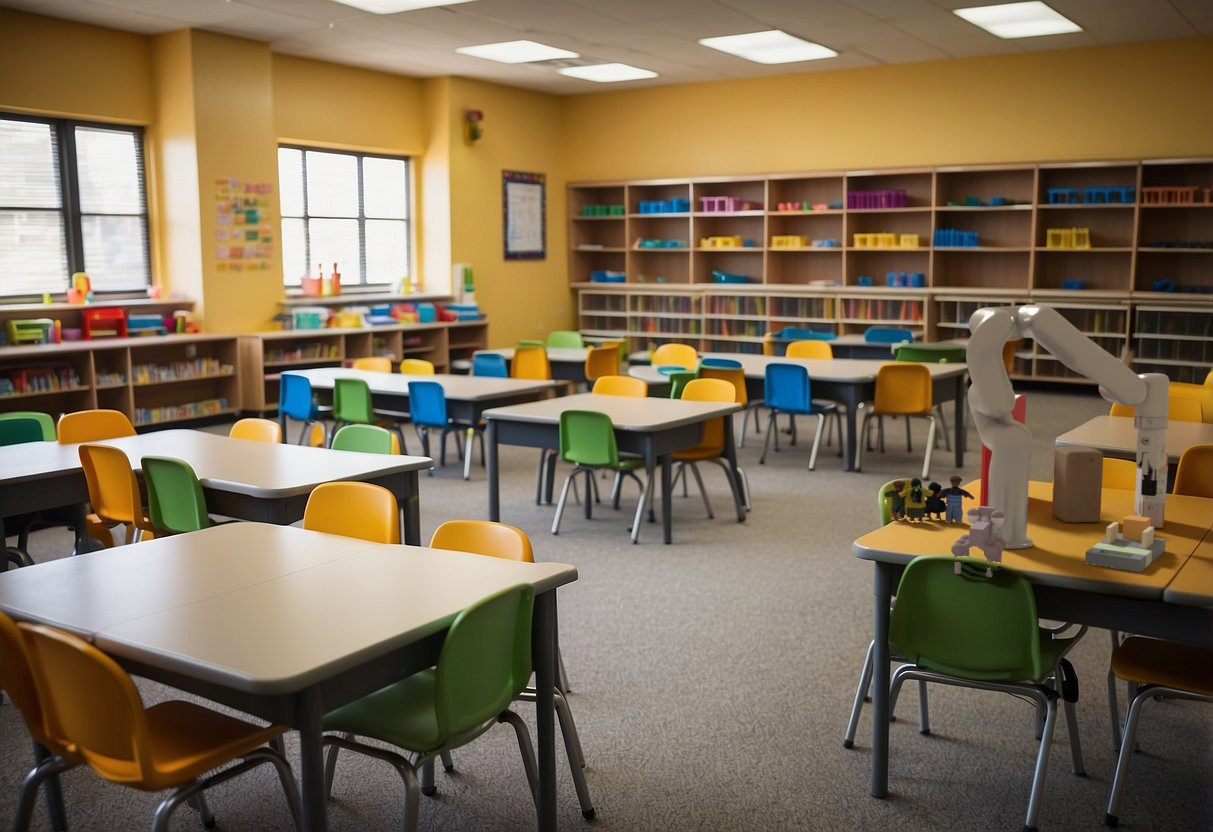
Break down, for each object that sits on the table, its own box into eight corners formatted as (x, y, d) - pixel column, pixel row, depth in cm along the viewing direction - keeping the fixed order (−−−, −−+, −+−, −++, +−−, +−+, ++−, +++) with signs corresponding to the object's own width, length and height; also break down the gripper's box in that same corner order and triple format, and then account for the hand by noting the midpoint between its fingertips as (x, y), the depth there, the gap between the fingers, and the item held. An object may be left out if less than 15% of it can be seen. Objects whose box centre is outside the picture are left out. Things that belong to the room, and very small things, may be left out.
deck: (1140, 572, 248) (1141, 542, 247) (1085, 564, 255) (1086, 535, 254) (1165, 551, 266) (1166, 523, 265) (1113, 543, 274) (1114, 516, 273)
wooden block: (1101, 523, 296) (1105, 451, 293) (1064, 523, 296) (1068, 451, 293) (1086, 515, 306) (1089, 445, 303) (1050, 515, 306) (1053, 445, 303)
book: (994, 493, 337) (998, 391, 333) (1021, 495, 333) (1026, 392, 329) (979, 510, 314) (982, 400, 309) (1008, 512, 310) (1012, 402, 306)
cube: (1144, 541, 264) (1145, 521, 263) (1122, 538, 267) (1123, 518, 266) (1149, 537, 268) (1150, 517, 267) (1127, 534, 271) (1128, 515, 270)
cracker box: (1165, 529, 288) (1169, 452, 285) (1140, 528, 290) (1144, 451, 287) (1157, 518, 301) (1161, 444, 299) (1133, 516, 303) (1137, 443, 301)
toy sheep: (964, 553, 266) (969, 499, 264) (1010, 560, 261) (1015, 506, 259) (947, 573, 249) (952, 516, 247) (995, 581, 244) (1000, 523, 241)
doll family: (963, 517, 305) (965, 470, 304) (975, 524, 296) (976, 476, 295) (882, 518, 305) (883, 471, 303) (891, 525, 296) (892, 477, 294)
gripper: (1160, 427, 261) (1158, 502, 264) (1174, 420, 273) (1172, 491, 275) (1126, 426, 266) (1124, 499, 268) (1142, 418, 277) (1140, 488, 280)
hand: (1148, 494), depth 272 cm, fingers closed
